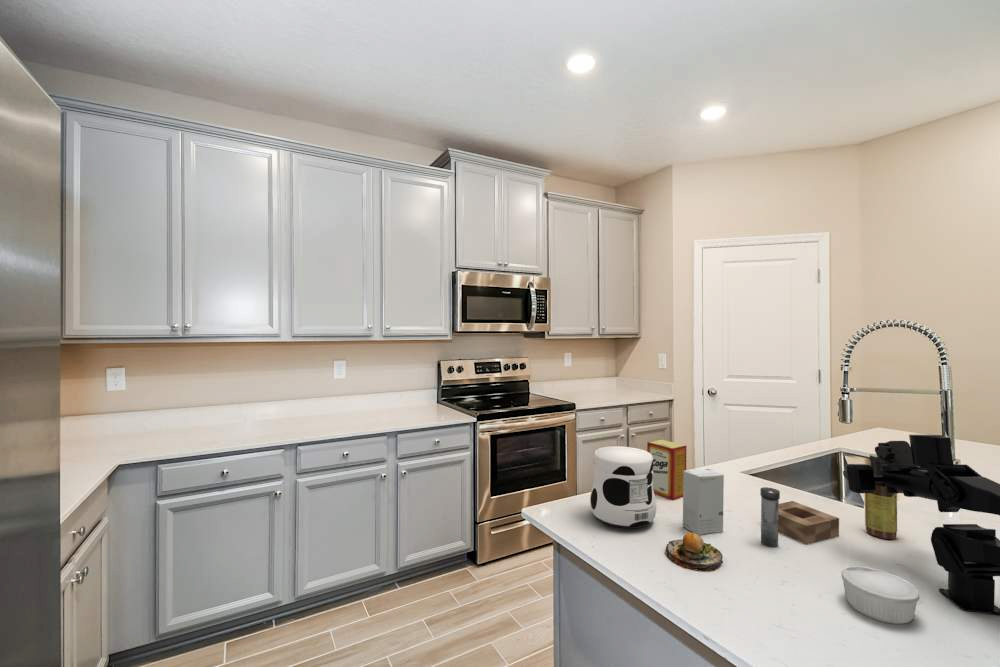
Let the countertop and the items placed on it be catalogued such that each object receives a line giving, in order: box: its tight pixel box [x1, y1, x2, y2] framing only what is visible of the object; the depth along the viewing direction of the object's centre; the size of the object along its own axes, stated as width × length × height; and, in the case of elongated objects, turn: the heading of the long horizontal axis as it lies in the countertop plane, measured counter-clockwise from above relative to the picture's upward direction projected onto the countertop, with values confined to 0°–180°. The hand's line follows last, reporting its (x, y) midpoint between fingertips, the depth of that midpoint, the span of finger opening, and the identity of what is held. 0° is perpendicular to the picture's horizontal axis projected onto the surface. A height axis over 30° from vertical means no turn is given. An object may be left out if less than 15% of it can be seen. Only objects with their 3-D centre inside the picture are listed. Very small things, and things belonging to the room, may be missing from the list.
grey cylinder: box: [759, 486, 781, 549], centre depth 109 cm, size 4×4×13 cm
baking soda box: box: [646, 439, 687, 501], centre depth 142 cm, size 10×6×16 cm
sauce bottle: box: [864, 453, 898, 540], centre depth 114 cm, size 7×6×20 cm
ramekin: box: [840, 565, 920, 625], centre depth 84 cm, size 11×11×5 cm
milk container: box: [589, 445, 657, 529], centre depth 122 cm, size 17×17×18 cm
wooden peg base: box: [778, 500, 840, 546], centre depth 116 cm, size 12×12×4 cm
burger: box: [665, 531, 724, 573], centre depth 103 cm, size 12×12×8 cm
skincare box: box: [682, 468, 725, 536], centre depth 117 cm, size 8×6×15 cm
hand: (862, 473), depth 111 cm, fingers open, 9 cm apart
